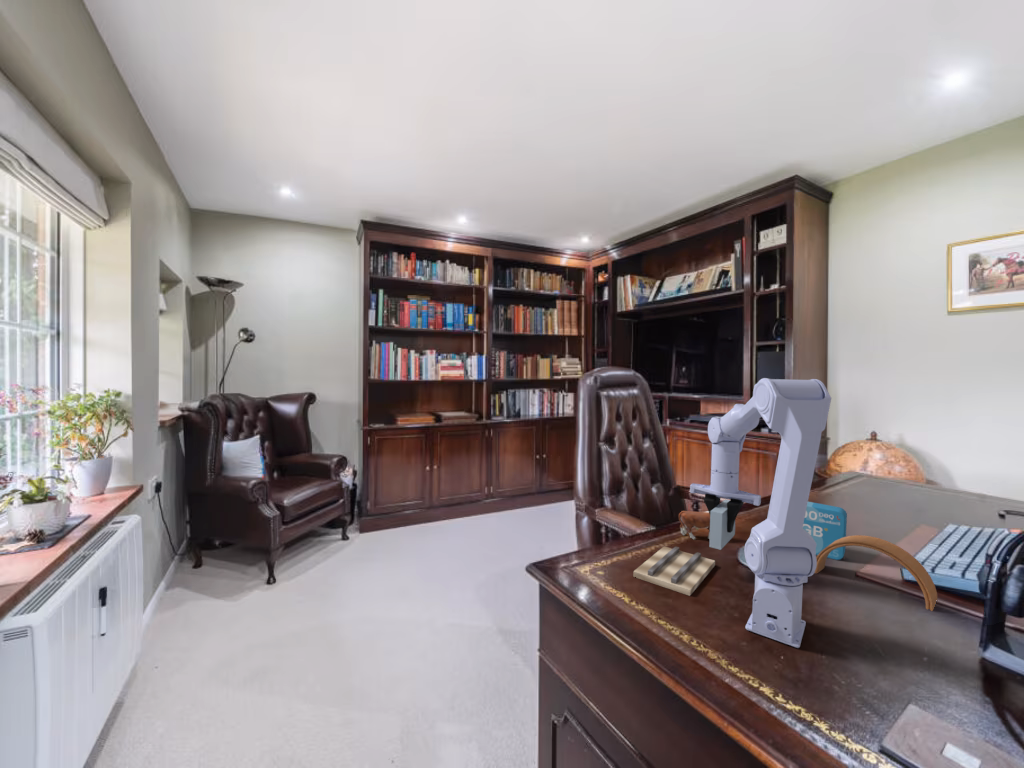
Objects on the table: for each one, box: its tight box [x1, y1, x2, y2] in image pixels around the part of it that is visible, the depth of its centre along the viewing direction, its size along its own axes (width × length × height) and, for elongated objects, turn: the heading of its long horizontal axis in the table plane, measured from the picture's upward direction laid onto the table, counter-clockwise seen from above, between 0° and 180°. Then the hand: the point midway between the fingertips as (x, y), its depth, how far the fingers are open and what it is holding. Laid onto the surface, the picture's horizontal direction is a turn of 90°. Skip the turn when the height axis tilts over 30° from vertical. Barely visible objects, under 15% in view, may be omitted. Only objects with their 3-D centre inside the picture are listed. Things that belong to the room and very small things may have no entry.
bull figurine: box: [678, 510, 710, 541], centre depth 117 cm, size 4×13×8 cm, turn 78°
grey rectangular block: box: [708, 499, 736, 551], centre depth 99 cm, size 12×2×8 cm, turn 140°
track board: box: [632, 546, 716, 597], centre depth 98 cm, size 18×12×2 cm, turn 140°
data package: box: [803, 501, 848, 561], centre depth 110 cm, size 12×4×12 cm, turn 48°
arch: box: [814, 534, 938, 612], centre depth 92 cm, size 6×20×10 cm, turn 38°
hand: (722, 529), depth 99 cm, fingers closed on grey rectangular block, 2 cm apart
